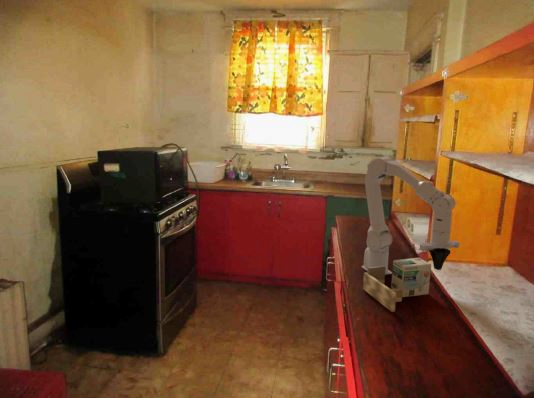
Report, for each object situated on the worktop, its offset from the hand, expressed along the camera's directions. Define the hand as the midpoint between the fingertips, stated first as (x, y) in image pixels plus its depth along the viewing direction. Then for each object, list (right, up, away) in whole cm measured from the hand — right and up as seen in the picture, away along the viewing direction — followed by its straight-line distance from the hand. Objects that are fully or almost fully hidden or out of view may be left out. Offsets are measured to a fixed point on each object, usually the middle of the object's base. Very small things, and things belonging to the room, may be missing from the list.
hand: (437, 268), depth 130 cm
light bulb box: (-10, -8, -1) cm, 13 cm away
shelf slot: (-20, -8, -7) cm, 23 cm away
